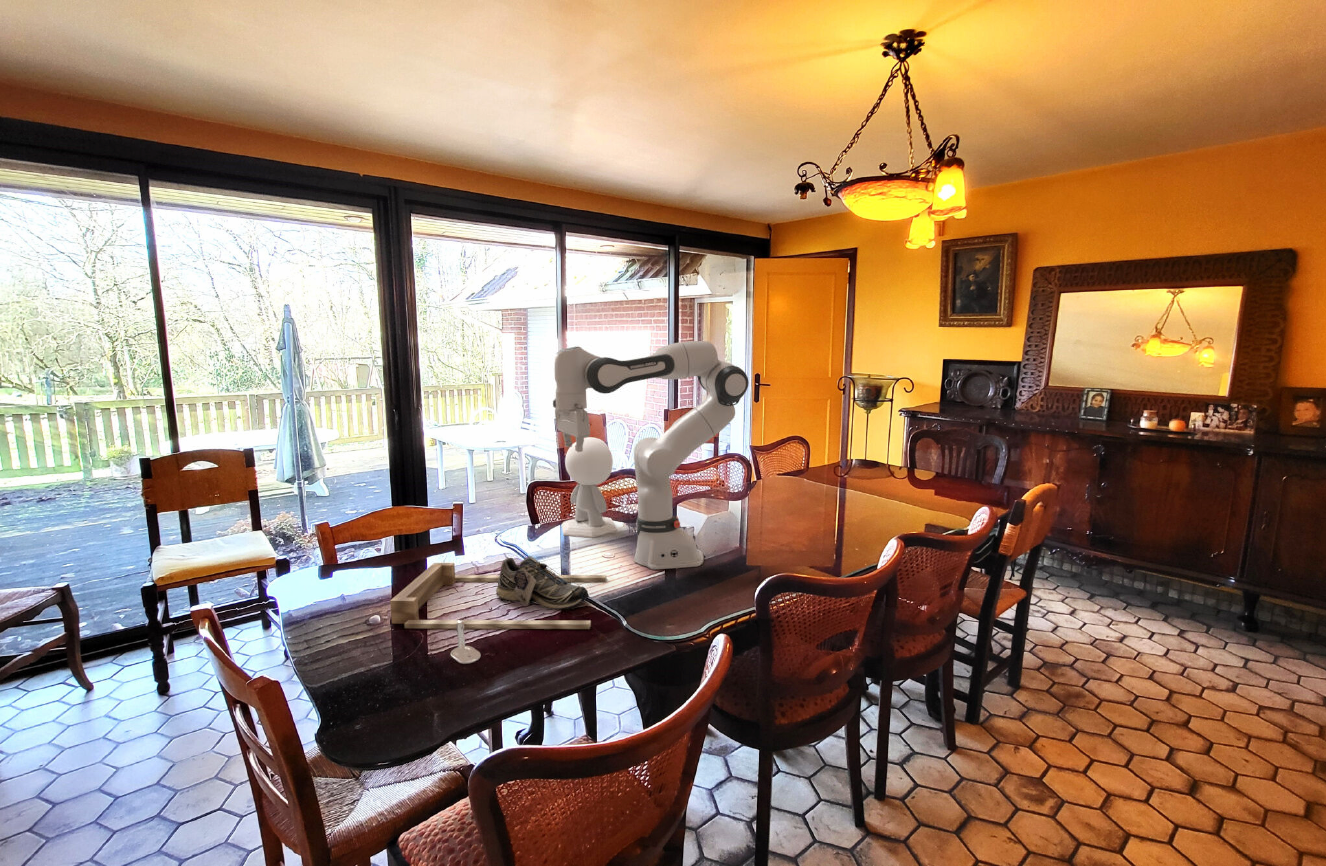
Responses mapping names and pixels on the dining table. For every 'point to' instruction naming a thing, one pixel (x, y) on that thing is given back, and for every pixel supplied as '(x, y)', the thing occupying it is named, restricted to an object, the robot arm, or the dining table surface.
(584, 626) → the strip
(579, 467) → the white toy figurine
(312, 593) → the dining table surface
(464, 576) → the lane strip right
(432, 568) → the bar
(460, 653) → the white stemmed disc stand
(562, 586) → the running shoe
